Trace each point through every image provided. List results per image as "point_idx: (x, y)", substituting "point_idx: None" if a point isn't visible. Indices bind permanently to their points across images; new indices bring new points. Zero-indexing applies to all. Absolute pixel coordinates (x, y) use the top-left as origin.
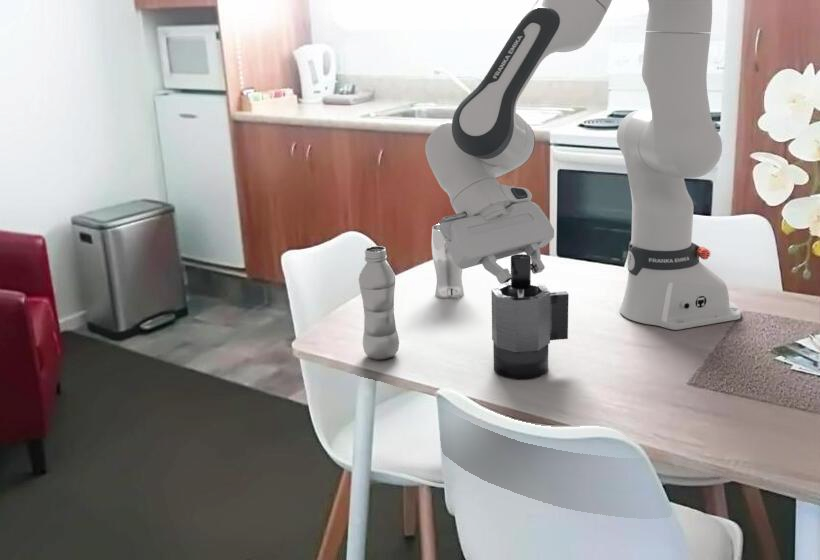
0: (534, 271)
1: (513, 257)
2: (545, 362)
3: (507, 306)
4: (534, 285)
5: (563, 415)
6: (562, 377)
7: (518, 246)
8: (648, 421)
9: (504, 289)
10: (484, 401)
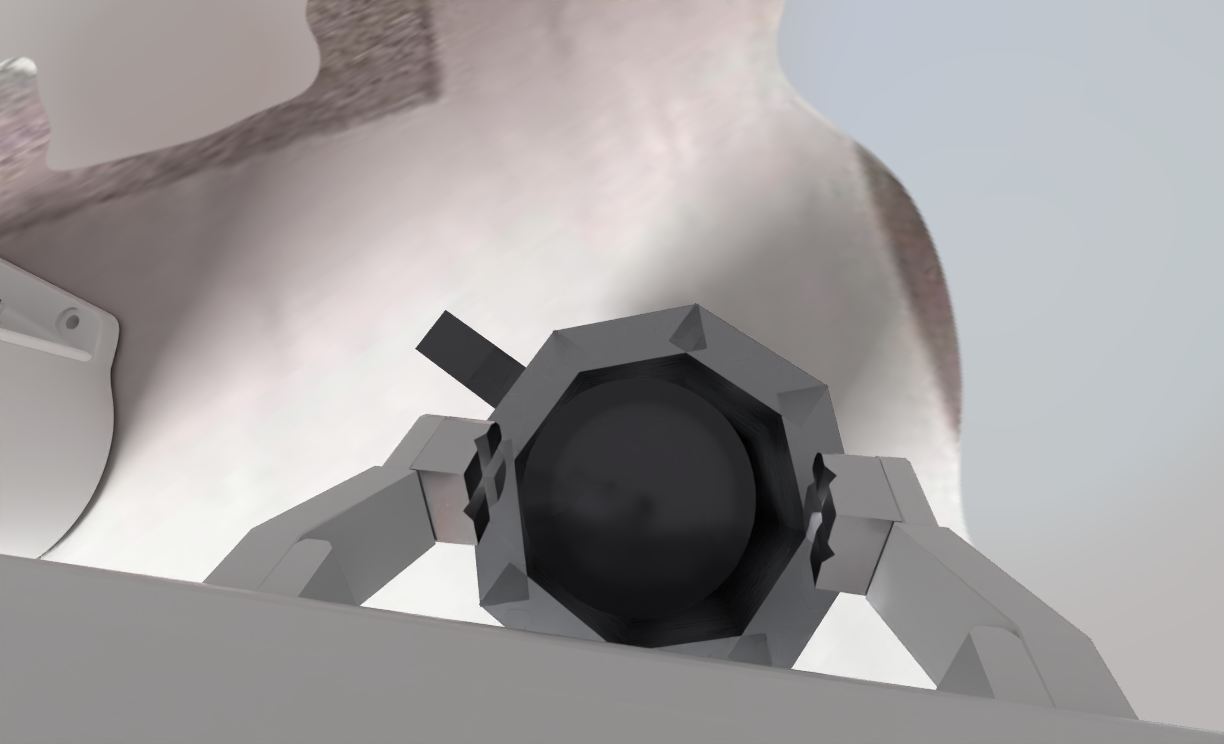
0: (498, 471)
1: (706, 550)
2: None
3: None
4: (510, 495)
5: (825, 189)
6: None
7: (519, 630)
8: (687, 38)
9: (670, 641)
10: (949, 411)
